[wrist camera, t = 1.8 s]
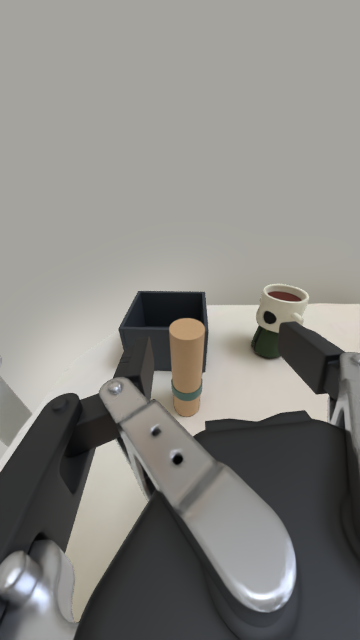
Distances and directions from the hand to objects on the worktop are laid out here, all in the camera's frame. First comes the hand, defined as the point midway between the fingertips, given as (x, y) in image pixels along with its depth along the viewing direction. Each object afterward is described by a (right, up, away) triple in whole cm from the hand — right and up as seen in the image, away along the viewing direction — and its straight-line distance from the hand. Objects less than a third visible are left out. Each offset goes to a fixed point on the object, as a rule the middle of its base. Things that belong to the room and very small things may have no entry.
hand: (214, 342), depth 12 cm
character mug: (+16, -5, +28) cm, 32 cm away
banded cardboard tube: (-1, -12, +18) cm, 22 cm away
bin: (-4, -4, +29) cm, 30 cm away
